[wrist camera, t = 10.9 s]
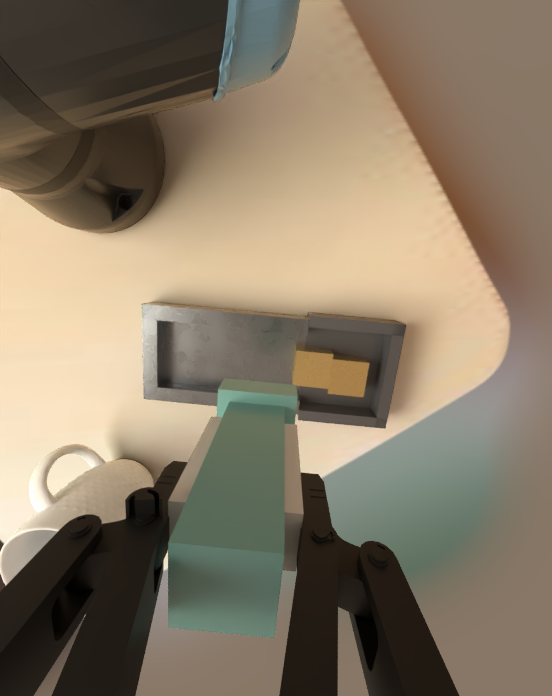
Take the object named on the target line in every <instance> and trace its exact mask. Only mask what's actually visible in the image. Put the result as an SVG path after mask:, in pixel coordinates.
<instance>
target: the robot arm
mask: <svg viewBox="0 0 552 696" xmlns="http://www.w3.org/2000/svg"><path fill="white" fill-rule="evenodd" d="M299 2H300V0H0V187H1V188H4V189H7V190H10V191H12V192H13V193H15V194H16V195H18V196H19V197H20V198H22V199H23V200H25V201H26V202H27V203H29V204H30V205H32V206H33V207H34V208H36V209H37V210H39V211H40V212H41V213H43V214H44V215H46V216H47V217H49V218H50V219H52V220H54V221H56V222H58V223H60V224H62V225H65V226H68V227H71V228H74V229H79V230H83V231H88V232H93V233H111V232H116V231H120V230H122V229H125V228H127V227H129V226H131V225H133V224H134V223H136V222H137V221H139V220H140V219H141V218H142V217H143V216H144V215H145V214H146V213H147V212H148V211H149V209H150V208H151V207H152V205H153V203H154V202H155V200H156V198H157V196H158V193H159V191H160V188H161V185H162V181H163V175H164V163H165V160H164V148H163V142H162V138H161V134H160V131H159V128H158V125H157V123H156V121H155V118H154V116H153V114H154V113H157V112H161V111H165V110H169V109H173V108H177V107H181V106H184V105H188V104H192V103H196V102H200V101H204V100H207V99H211V98H212V99H213V101H218V100H221V99H222V98H223V97H224V95H225V93H228V92H231V91H234V90H237V89H240V88H243V87H246V86H249V85H252V84H255V83H258V82H261V81H264V80H266V79H268V78H270V77H272V76H273V75H274V74H275V73H276V72H277V71H278V70H279V69H280V67H281V66H282V64H283V63H284V61H285V59H286V57H287V55H288V52H289V49H290V46H291V43H292V39H293V36H294V32H295V28H296V22H297V16H298V9H299ZM221 419H222V418H221V417H211V418H210V420H209V422H208V424H207V426H206V428H205V430H204V432H203V434H202V436H201V438H200V440H199V442H198V444H197V446H196V448H195V450H194V451H193V453H192V455H191V457H190V459H189V461H188V462H178V461H173V462H172V463H170V464H169V465H168V466H167V467H165V469H164V470H163V472H162V474H161V475H160V477H159V478H158V480H157V482H156V483H155V485H154V487H145V488H141V489H138V490H136V491H134V492H132V493H131V494H130V495H129V496H128V497H127V498H126V500H125V508H126V519H123V520H120V521H116V522H110V523H104V524H102V520H101V519H100V518H99V516H96V515H94V514H86V515H82V516H78V517H76V518H74V519H72V520H70V521H69V522H68V523H66V524H65V525H64V526H63V527H62V528H61V529H60V530H59V531H58V532H57V533H56V534H55V535H54V536H53V537H52V538H51V539H50V540H49V541H48V542H47V543H46V544H45V545H44V546H43V548H42V549H41V550H40V551H39V552H38V553H37V554H36V555H35V556H34V557H33V558H32V559H31V560H30V561H29V562H28V563H27V564H26V565H25V566H24V567H23V568H22V569H21V570H20V572H19V573H18V574H17V575H16V576H15V577H14V578H13V579H12V580H11V581H10V582H9V583H8V584H7V585H6V586H5V587H4V588H3V589H2V590H1V592H0V696H34V694H35V692H36V691H37V689H38V688H39V686H40V685H41V683H42V682H43V680H44V678H45V677H46V675H47V674H48V672H49V671H50V669H51V668H52V666H53V664H54V663H55V661H56V660H57V658H58V657H59V655H60V654H61V652H62V650H63V649H64V647H65V646H66V644H67V643H68V641H69V640H70V638H71V636H72V635H73V633H74V632H75V630H76V629H77V627H78V625H79V624H80V622H81V621H82V619H83V618H84V620H83V622H82V625H81V627H80V629H79V632H78V634H77V637H76V639H75V641H74V644H73V646H72V649H71V651H70V653H69V656H68V658H67V661H66V663H65V665H64V668H63V670H62V672H61V675H60V677H59V680H58V682H57V684H56V687H55V689H54V691H53V694H52V696H135V695H136V690H137V686H138V681H139V677H140V672H141V667H142V663H143V659H144V654H145V650H146V645H147V641H148V637H149V632H150V627H151V623H152V619H153V614H154V609H155V605H156V601H157V596H158V592H159V587H160V583H161V578H162V574H163V560H164V558H165V555H166V553H167V551H168V542H169V540H170V537H171V535H172V533H173V530H174V528H175V526H176V523H177V521H178V519H179V516H180V514H181V512H182V510H183V507H184V505H185V503H186V500H187V498H188V496H189V493H190V491H191V489H192V486H193V484H194V482H195V480H196V477H197V475H198V473H199V470H200V468H201V466H202V463H203V461H204V459H205V456H206V454H207V452H208V449H209V447H210V445H211V443H212V440H213V438H214V436H215V433H216V431H217V429H218V426H219V424H220V422H221ZM296 566H297V577H296V583H295V590H294V598H293V604H292V611H291V618H290V625H289V632H288V639H287V646H286V653H285V660H284V668H283V674H282V682H281V689H280V695H279V696H337V680H338V679H337V678H338V677H337V675H338V674H337V673H338V669H337V668H338V667H337V666H338V662H337V661H338V607H340V608H342V609H344V610H346V611H348V612H349V615H350V619H351V623H352V627H353V631H354V635H355V639H356V643H357V648H358V651H359V656H360V660H361V664H362V668H363V673H364V677H365V680H366V685H367V689H368V693H369V696H459V694H458V692H457V690H456V688H455V685H454V683H453V681H452V679H451V677H450V674H449V672H448V670H447V668H446V666H445V663H444V661H443V659H442V657H441V655H440V652H439V650H438V648H437V646H436V644H435V641H434V639H433V637H432V635H431V633H430V630H429V628H428V626H427V624H426V622H425V619H424V617H423V615H422V613H421V611H420V608H419V606H418V604H417V602H416V600H415V597H414V595H413V593H412V591H411V589H410V587H409V584H408V582H407V580H406V578H405V575H404V573H403V571H402V569H401V567H400V564H399V562H398V560H397V558H396V556H395V555H394V553H393V552H392V551H391V550H390V549H389V548H388V547H387V546H385V545H383V544H381V543H379V542H375V541H367V542H365V543H363V544H362V545H361V547H358V546H355V545H353V544H350V543H348V542H346V541H344V540H342V539H341V538H340V537H339V536H338V535H337V533H336V531H335V530H334V528H333V527H332V524H331V518H330V513H329V507H328V502H327V498H326V492H325V486H324V482H323V480H322V479H321V477H320V476H319V475H318V474H309V473H300V460H299V447H298V434H297V425H294V424H285V453H284V562H283V570H287V571H296ZM84 616H85V617H84Z"/></svg>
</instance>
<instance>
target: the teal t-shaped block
mask: <svg viewBox="0 0 552 696" xmlns="http://www.w3.org/2000/svg"><path fill="white" fill-rule="evenodd" d="M297 398H298V395H297V386H296V385H291V384H281V383H270V382H260V381H249V380H239V379H228V378H224V380H223V381H222V383H221V385H220V387H219V388H218V400H217V417H221V418H222V419H221V422H220V424H219V426H218V429H217V431H216V433H215V436H214V438H213V440H212V443H211V445H210V447H209V449H208V452H207V454H206V456H205V459H204V461H203V463H202V466H201V468H200V470H199V473H198V475H197V477H196V480H195V482H194V484H193V486H192V489H191V491H190V493H189V496H188V498H187V500H186V503H185V505H184V507H183V510H182V512H181V514H180V516H179V519H178V521H177V523H176V526H175V528H174V530H173V533H172V535H171V537H170V540H169V542H168V590H169V591H168V606H169V607H168V608H169V609H168V622H169V623H168V627H171V628H179V629H190V630H199V631H200V630H201V631H210V632H220V633H230V634H240V635H250V636H260V637H270V638H274V635H275V627H276V618H277V610H278V602H279V594H280V586H281V578H282V570H283V562H284V453H285V424H295V415H296V407H297Z"/></svg>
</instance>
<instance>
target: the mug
mask: <svg viewBox="0 0 552 696" xmlns="http://www.w3.org/2000/svg"><path fill="white" fill-rule="evenodd" d="M65 454H75V455H78V456H80V457H82V458H83V459H85V460H86V461H87V462H88V463H89V465H90V466H91V470H89V471H86V472H85V473H84V474H82V475H80V476H78V477H77V478H76V479H75V480H73V481H72V482H70V483H69V484H68V485H67V486H65V487H64V488H62V489H61V490H60V491H59V492H58V493H57V494H56V495H54V496H53V495H52V494H51V493H50V491H49V489H48V487H47V476H48V472H49V470H50V468H51V466H52V465H53V463H54V462H55V461H56V460H57V459H58V458H59V457H61V456H63V455H65ZM145 487H154V482H153V478H152V476H151V474H150V473H149V471H148V470H147V469H146V468H145V467H144V466H143V465H142V464H140V463H138V462H136V461H133V460H127V459H120V460H114V461H110V462H105V461H104V460H103V459H102V458H101V457H100V456H99V455H98V454H97V453H96V452H95V451H93V450H92V449H90V448H88V447H86V446H84V445H79V444H72V445H66V446H63V447H60V448H58V449H56V450H54V451H53V452H51V453H50V454H48V455H47V456H46V457H45V458H44V459H43V460H42V461H41V462H40V463H39V464H38V466H37V467H36V468H35V470H34V472H33V474H32V476H31V479H30V483H29V495H30V500H31V503H32V505H33V507H34V509H35V510H36V511H37V512H36V513H35V514H33V515H32V516H31V517H30V518H29V519H28V520H27V522H25V523H24V524H23V525H22V526H21V527H20V528H19V529H18V530H17V531H16V532H15V533H14V534H13V535H12V536H11V537H10V538H9V539H8V541H7V542H6V543H5V544H4V546H3V548H2V550H1V553H0V572H1V576H2V578H3V581H4V583H5V585H7V584H8V583H9V582H10V581H11V580H12V579H13V578H14V577H15V576H16V575H17V574H18V573H19V572H20V570H21V569H22V568H23V567H24V566H25V565H26V564H27V563H28V562H29V561H30V560H31V559H32V558H33V557H34V556H35V555H36V554H37V553H38V552H39V551H40V550H41V549H42V548H43V546H44V545H45V544H46V543H47V542H48V541H49V540H50V539H51V538H52V537H53V536H54V535H55V534H56V533H57V532H58V531H59V530H60V529H61V528H62V527H63V526H64V525H65V524H66V523H68V522H69V521H70V520H72V519H74V518H76V517H78V516H82V515H86V514H94V515H96V516H99V518H100V519H101V520H102V524H104V523H110V522H116V521H120V520H123V519H126V508H125V500H126V498H127V497H128V496H129V495H130V494H131V493H132V492H134V491H136V490H138V489H141V488H145ZM84 617H85V616H84Z"/></svg>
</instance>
